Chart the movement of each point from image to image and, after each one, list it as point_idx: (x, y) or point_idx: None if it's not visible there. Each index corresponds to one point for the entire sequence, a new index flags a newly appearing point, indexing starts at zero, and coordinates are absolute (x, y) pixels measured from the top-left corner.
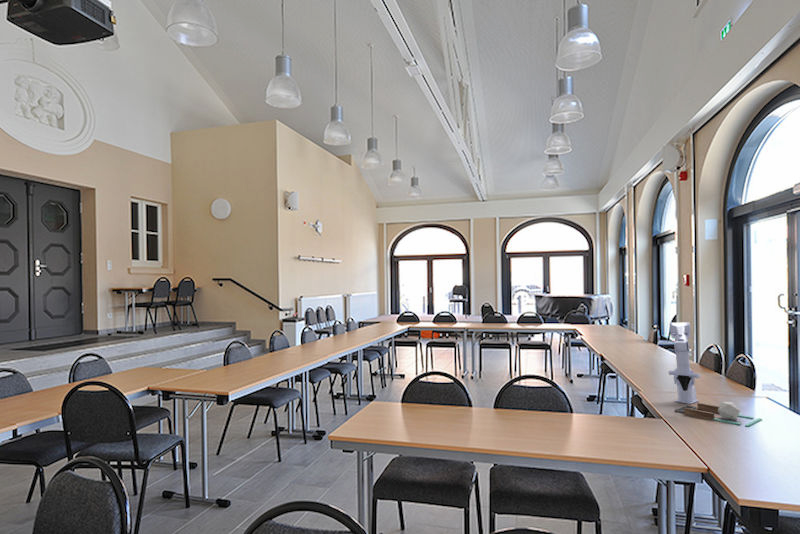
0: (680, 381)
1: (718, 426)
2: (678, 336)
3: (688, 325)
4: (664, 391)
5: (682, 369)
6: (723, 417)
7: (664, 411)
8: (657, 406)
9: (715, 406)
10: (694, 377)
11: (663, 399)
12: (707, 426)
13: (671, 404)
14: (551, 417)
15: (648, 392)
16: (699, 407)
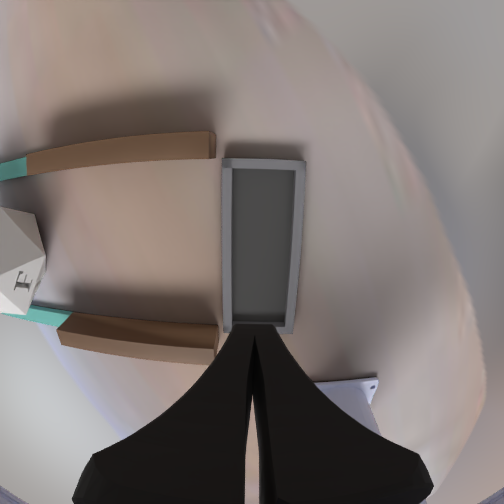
0: (315, 419)
1: (14, 74)
2: None
3: None
4: (427, 445)
5: None
6: (26, 212)
7: (357, 116)
8: (433, 216)
9: (100, 337)
10: (9, 497)
11: (429, 370)
12: (43, 31)
13: (382, 319)
14: None
15: (476, 401)
16: (204, 332)
